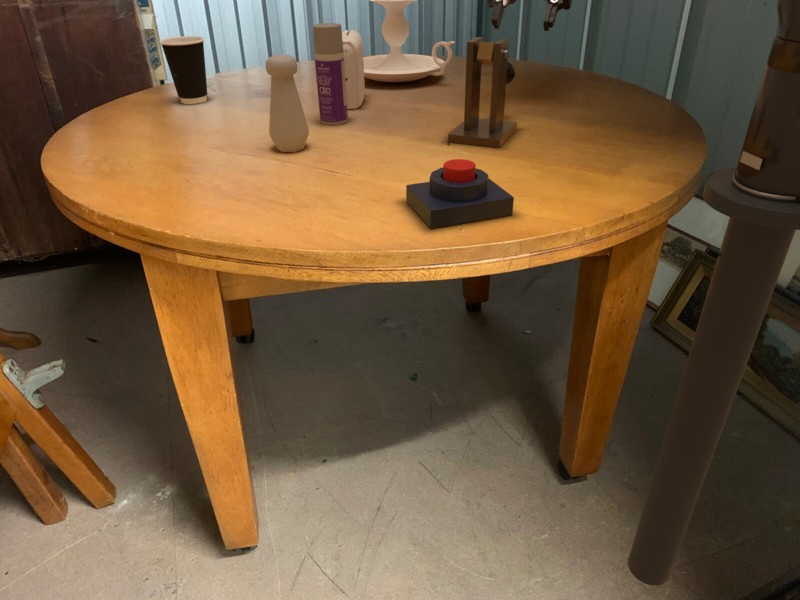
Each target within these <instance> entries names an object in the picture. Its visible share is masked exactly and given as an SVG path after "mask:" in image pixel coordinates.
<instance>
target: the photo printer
mask: <svg viewBox="0 0 800 600" xmlns="http://www.w3.org/2000/svg"><path fill="white" fill-rule="evenodd" d="M342 41H343V52H344V65H345V80H346V96H347V110H355V109H357V108H360V107H361V106H362V104H363V101H364V99H365V94H366V87H365V86H366V83H365V77H364V62H363V57H364V46H363V45H364V43H363V39H362V36H361V35H360V33H359V32H357V31H356V30H353V29H351V30H348V29H346V30H344V31H342Z"/></svg>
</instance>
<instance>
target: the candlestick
mask: <svg viewBox="0 0 800 600" xmlns="http://www.w3.org/2000/svg"><path fill="white" fill-rule="evenodd" d="M368 1H370V2H372V3H376V4H378V5H380V6H381V7H384V9H385V10H386V13H385V14H386V15H385V17H384V19H383V22H382V25H381V33H382V37H383V39H384V41H385V42H386V43H387V45H389V46H390V48H389V49H390V50H389V53H388V54H375V55H369V56H363V62H364V79H369V80H372V81H375V82H382V83H405V82H412V81H418V80H421V79H424V78H426V77H427V78H428V76H435V77H438V76H439V77H440V76H443V75H444V74H445V73H446V69H447V66H449V64H450V63H451V62H452V60H453V54H454V53H453V49H452V45H454V44H455V43H456V42H455V41H454V40H451V41H448V42H446V41H439V42H436V43H435V44H434V45H433V46H432V49H431V56H430V55H424V54H414V53H412V54H411V53H403V51H402V46H403V44H405V42H406V41H407V39H408V37H409V34H410V25H409V22H408V19H407V18H406V17H405V13H404V10H405V8H406V7H408V5H410V4H413V3H414V2H417V1H418V0H368ZM440 46H442V47H444V48H445V49H446V52H447V58H446V60H443V59H441V58H439V57H438V56H437V55H438V54H437V51H438V48H439V47H440ZM439 69H440V70H439ZM437 70H439V72H437Z"/></svg>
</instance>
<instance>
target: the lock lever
mask: <svg viewBox="0 0 800 600" xmlns="http://www.w3.org/2000/svg"><path fill="white" fill-rule="evenodd" d="M494 43H495V42H493V41H492V42H490V41H483V42H479V48H478V54H477V60H478V61H479V62H480V63H481V65H486V66H487V65H488V66H491V67H492V68H493V56H494ZM515 77H516V68H515V66H514V64H512V63H511V62H510V61H508V64H507V78H506V85H509V84H511V83H512V82H513V81H514V79H515Z"/></svg>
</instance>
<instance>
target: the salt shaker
mask: <svg viewBox="0 0 800 600" xmlns="http://www.w3.org/2000/svg"><path fill="white" fill-rule="evenodd" d="M265 71H266V73H267V75H269V76H271V78H270V99H269V100H270V102H269V103H270V104H269V124H268V125H269V128H268V134H269V137H270V139H271V141H272V143H273V145H274V146H275V147H276V149H277V150H278V151H280V152H281V153H297V152H299V151H302V150H304V149H305V146H306V143H307V140H308V138H309V135H310V129H309V125H308V121H307V119H306V116H305V112H304V109H303V105H302V102H301V98H300V95H299V90H298V87H297V85H296V81H295V77H294V76H295V74H297V73H298V63H297V60H296V58H294V56H292V55H288V54H277V55H272V56H269V57H268V58H267V59H266V60H265Z"/></svg>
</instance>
